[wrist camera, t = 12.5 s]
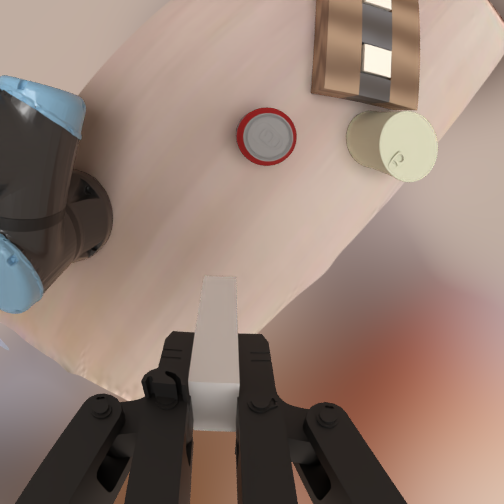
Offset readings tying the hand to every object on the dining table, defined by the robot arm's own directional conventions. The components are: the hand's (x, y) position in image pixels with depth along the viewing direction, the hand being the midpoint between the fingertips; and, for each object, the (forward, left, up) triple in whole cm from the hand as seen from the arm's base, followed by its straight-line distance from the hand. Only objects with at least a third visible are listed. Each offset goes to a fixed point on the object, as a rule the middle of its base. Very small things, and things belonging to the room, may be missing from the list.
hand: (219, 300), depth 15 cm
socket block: (+18, +25, -32) cm, 45 cm away
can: (+22, +8, -33) cm, 40 cm away
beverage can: (+4, +7, -33) cm, 34 cm away
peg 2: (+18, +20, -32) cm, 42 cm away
